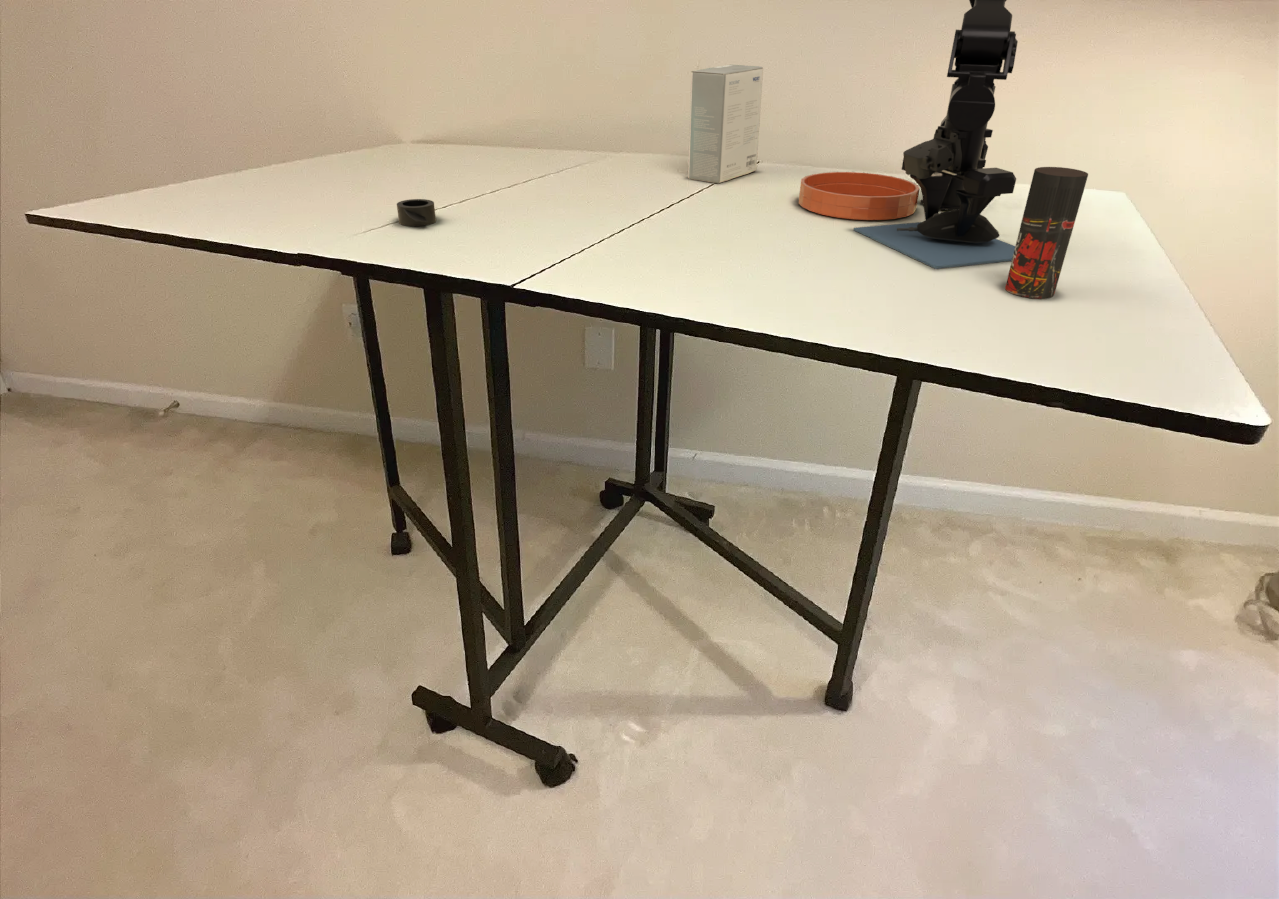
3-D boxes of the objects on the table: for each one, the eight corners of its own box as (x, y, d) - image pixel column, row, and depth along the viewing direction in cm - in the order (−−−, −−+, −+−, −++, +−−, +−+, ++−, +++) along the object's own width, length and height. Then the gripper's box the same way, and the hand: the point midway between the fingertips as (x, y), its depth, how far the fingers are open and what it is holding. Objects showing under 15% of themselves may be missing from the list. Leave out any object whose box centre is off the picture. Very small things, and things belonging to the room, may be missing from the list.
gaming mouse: (896, 224, 128) (901, 199, 126) (994, 233, 125) (1001, 207, 123) (897, 236, 123) (902, 210, 120) (999, 246, 120) (1007, 220, 118)
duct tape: (380, 227, 127) (377, 209, 125) (409, 212, 135) (407, 194, 134) (426, 231, 125) (423, 212, 124) (452, 215, 134) (450, 197, 132)
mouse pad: (946, 222, 135) (947, 219, 135) (1038, 258, 118) (1039, 255, 118) (853, 230, 130) (853, 227, 130) (935, 268, 113) (936, 266, 112)
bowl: (872, 190, 154) (876, 169, 152) (939, 216, 138) (944, 192, 136) (778, 197, 149) (780, 175, 147) (836, 225, 132) (839, 200, 130)
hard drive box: (725, 166, 172) (732, 63, 162) (757, 171, 169) (766, 66, 159) (686, 178, 161) (690, 69, 151) (718, 184, 158) (725, 72, 148)
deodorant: (996, 284, 107) (1025, 166, 100) (1039, 283, 108) (1071, 166, 100) (1018, 299, 102) (1050, 176, 95) (1063, 298, 103) (1098, 176, 95)
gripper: (880, 113, 120) (864, 218, 128) (962, 133, 105) (938, 251, 113) (943, 110, 123) (923, 213, 131) (1031, 130, 108) (1003, 245, 116)
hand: (944, 229), depth 123 cm, fingers closed on gaming mouse, 7 cm apart
